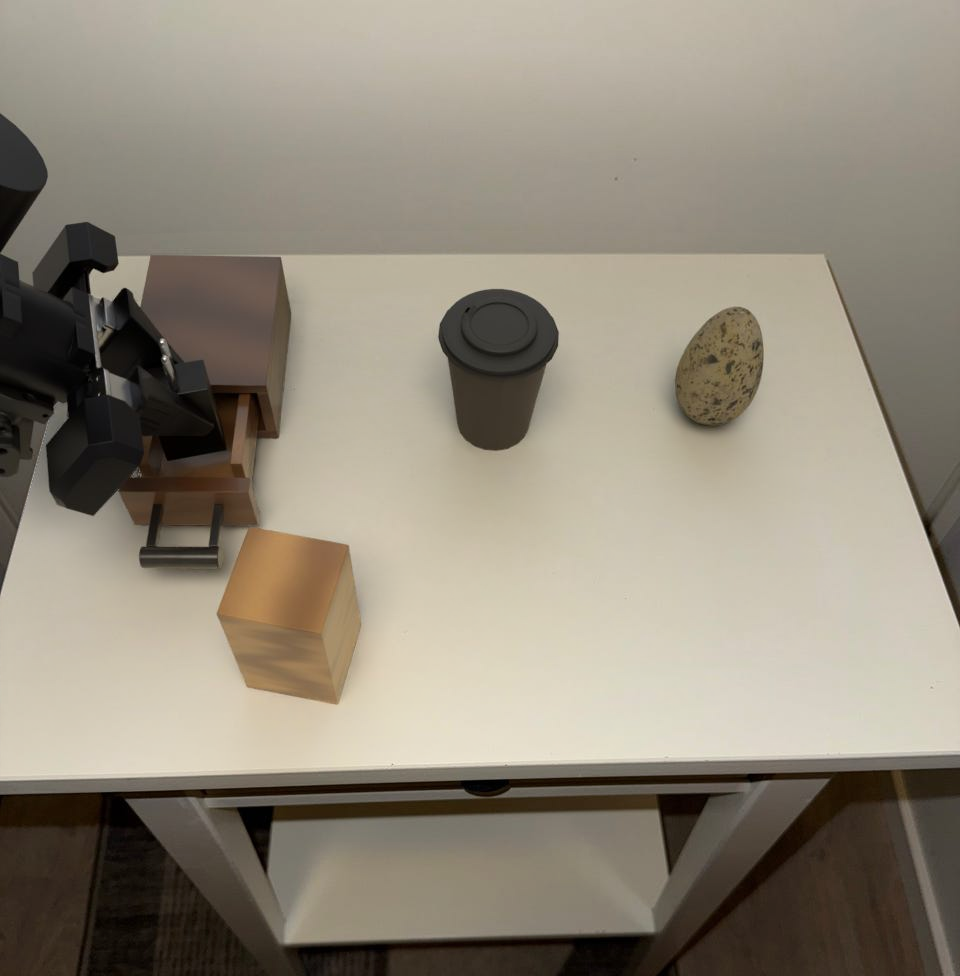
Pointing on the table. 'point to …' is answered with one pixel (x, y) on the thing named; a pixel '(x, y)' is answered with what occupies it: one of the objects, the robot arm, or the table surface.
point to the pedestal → (292, 614)
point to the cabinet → (226, 322)
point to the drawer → (197, 488)
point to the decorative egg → (721, 368)
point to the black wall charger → (198, 392)
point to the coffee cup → (496, 363)
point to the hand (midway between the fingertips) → (207, 412)
